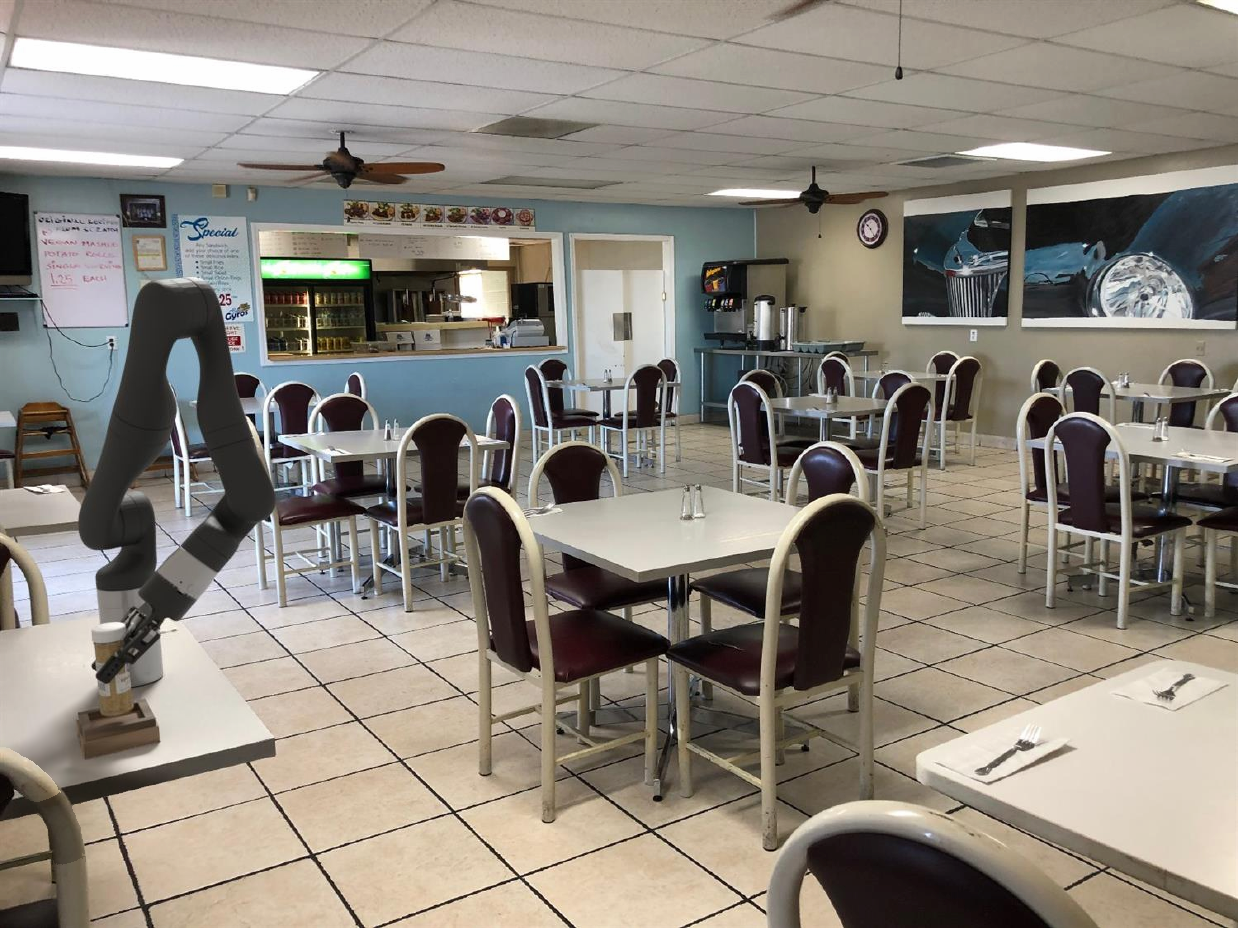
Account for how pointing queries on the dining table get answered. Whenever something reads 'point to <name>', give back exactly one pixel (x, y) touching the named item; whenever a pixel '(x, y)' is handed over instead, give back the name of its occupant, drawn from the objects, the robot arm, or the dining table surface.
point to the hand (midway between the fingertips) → (98, 675)
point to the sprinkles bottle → (119, 689)
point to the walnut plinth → (116, 730)
